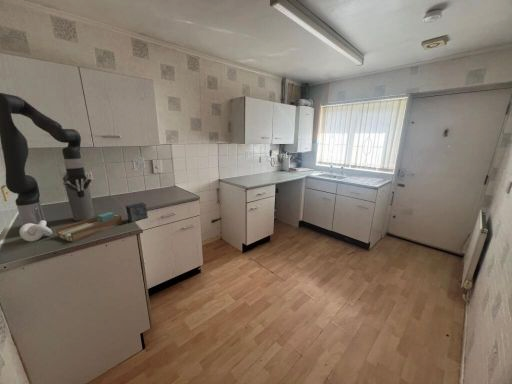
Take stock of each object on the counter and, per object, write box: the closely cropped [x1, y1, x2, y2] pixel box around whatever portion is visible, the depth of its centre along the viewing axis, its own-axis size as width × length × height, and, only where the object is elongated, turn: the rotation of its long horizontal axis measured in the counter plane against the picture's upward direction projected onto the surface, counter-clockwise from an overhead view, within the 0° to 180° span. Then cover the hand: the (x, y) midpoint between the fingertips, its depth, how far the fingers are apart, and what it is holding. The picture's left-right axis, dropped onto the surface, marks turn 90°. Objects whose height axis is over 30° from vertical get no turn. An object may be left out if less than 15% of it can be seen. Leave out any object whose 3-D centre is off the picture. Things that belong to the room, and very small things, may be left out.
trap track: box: [55, 214, 123, 243], centre depth 124 cm, size 14×27×5 cm, turn 158°
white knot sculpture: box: [18, 219, 53, 242], centre depth 113 cm, size 11×12×9 cm
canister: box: [62, 172, 95, 222], centre depth 137 cm, size 13×13×35 cm
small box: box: [125, 202, 149, 223], centre depth 140 cm, size 11×6×10 cm, turn 141°
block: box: [97, 211, 115, 222], centre depth 131 cm, size 5×7×4 cm
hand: (81, 197), depth 117 cm, fingers closed
